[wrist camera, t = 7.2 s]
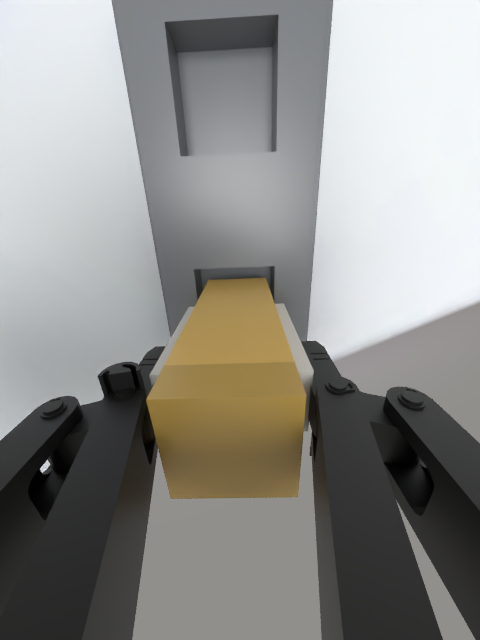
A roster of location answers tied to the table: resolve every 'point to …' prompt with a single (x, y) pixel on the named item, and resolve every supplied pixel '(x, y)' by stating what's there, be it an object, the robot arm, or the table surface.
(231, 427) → the plug
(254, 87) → the panel
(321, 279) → the table surface
